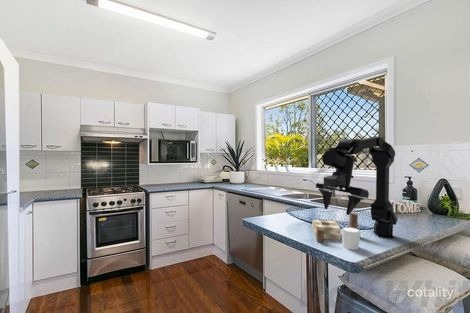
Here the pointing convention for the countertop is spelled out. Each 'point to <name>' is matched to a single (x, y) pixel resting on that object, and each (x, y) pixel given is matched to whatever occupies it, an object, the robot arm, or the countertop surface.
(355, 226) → the tall pin
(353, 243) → the white cylinder
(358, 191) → the robot arm
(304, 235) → the countertop surface
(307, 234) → the countertop surface
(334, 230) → the hole block
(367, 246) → the countertop surface
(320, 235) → the short pin
